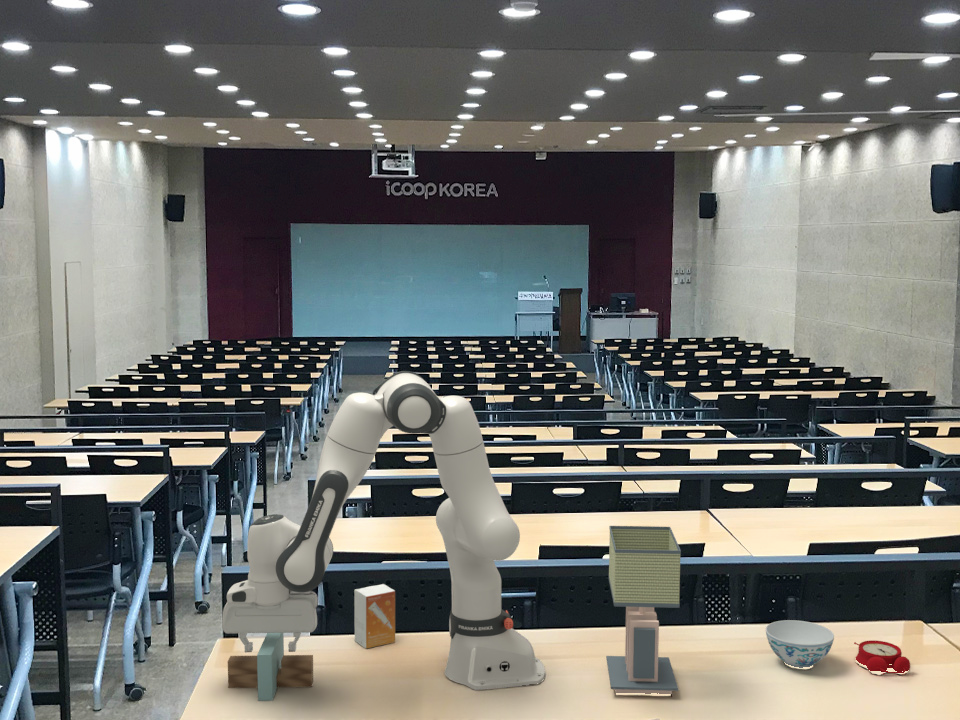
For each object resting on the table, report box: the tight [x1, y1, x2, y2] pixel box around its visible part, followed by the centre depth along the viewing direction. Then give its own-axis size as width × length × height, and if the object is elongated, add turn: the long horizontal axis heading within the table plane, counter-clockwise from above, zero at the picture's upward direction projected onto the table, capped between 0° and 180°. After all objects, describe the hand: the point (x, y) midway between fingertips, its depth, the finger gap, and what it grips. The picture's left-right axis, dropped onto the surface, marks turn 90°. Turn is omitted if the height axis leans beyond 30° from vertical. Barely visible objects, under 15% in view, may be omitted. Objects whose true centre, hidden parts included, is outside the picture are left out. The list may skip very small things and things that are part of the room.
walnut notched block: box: [227, 654, 314, 689], centre depth 230 cm, size 18×3×6 cm, turn 92°
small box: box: [353, 583, 396, 650], centre depth 254 cm, size 8×6×13 cm
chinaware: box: [765, 619, 835, 668], centre depth 242 cm, size 15×15×8 cm
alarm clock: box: [853, 640, 911, 674], centre depth 241 cm, size 10×6×15 cm
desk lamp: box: [606, 525, 682, 695], centre depth 230 cm, size 18×14×33 cm
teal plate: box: [256, 633, 285, 702], centre depth 230 cm, size 3×16×10 cm, turn 2°
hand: (270, 651), depth 230 cm, fingers open, 8 cm apart
